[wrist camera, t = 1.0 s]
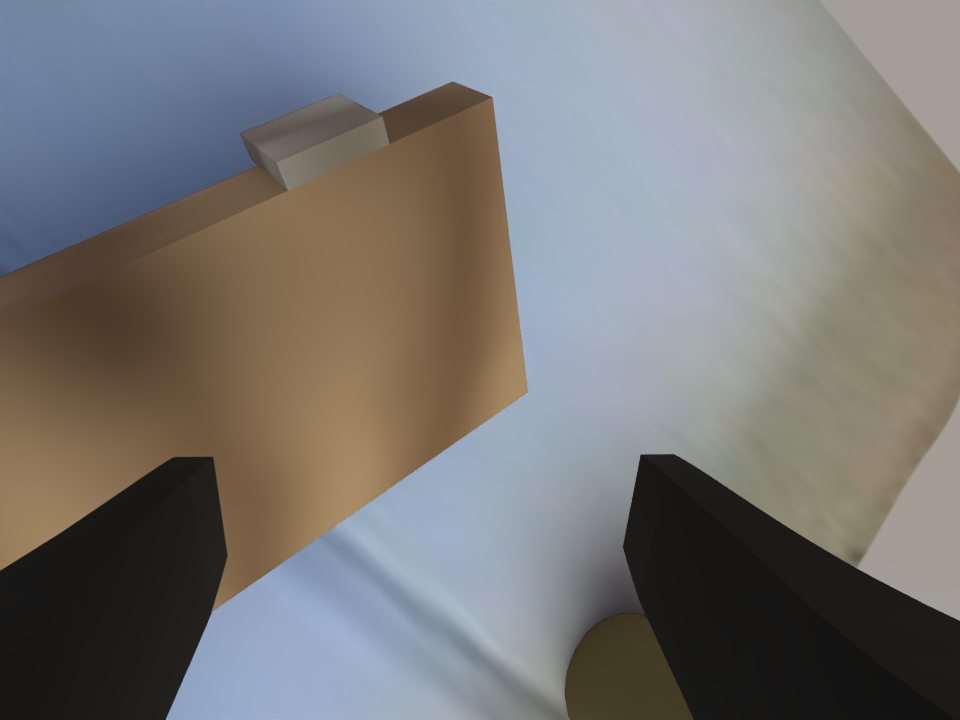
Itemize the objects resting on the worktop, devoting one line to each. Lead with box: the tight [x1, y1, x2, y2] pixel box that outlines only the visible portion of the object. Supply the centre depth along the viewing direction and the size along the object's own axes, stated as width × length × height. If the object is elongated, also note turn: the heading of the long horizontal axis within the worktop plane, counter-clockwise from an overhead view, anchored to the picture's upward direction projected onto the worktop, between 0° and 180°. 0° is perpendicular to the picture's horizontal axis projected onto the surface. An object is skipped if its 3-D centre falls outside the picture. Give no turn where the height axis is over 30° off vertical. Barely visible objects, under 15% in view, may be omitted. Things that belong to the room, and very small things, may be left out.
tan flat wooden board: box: [0, 82, 528, 611], centre depth 14 cm, size 20×11×2 cm
